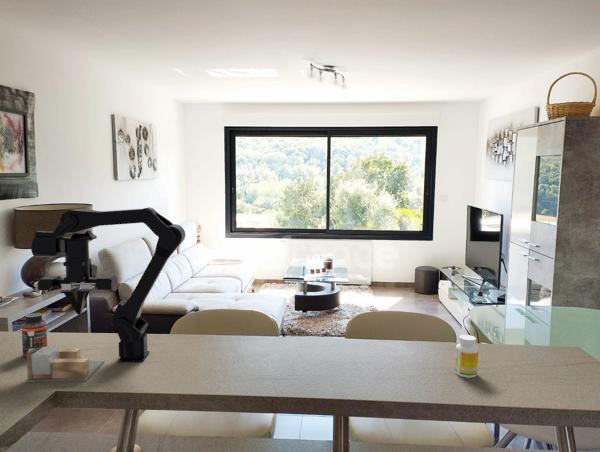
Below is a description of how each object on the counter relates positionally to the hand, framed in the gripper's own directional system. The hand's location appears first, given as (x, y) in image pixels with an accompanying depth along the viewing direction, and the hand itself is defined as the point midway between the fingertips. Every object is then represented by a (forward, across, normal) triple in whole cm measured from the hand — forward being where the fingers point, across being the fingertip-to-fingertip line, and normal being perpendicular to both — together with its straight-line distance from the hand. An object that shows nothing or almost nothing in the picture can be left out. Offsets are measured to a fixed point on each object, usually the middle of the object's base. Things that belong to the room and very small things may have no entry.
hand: (79, 314), depth 123 cm
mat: (+12, 0, +8) cm, 15 cm away
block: (+12, +1, +8) cm, 15 cm away
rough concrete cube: (+10, +4, +12) cm, 16 cm away
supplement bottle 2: (+13, -100, +16) cm, 102 cm away
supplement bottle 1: (+13, +14, -4) cm, 19 cm away
